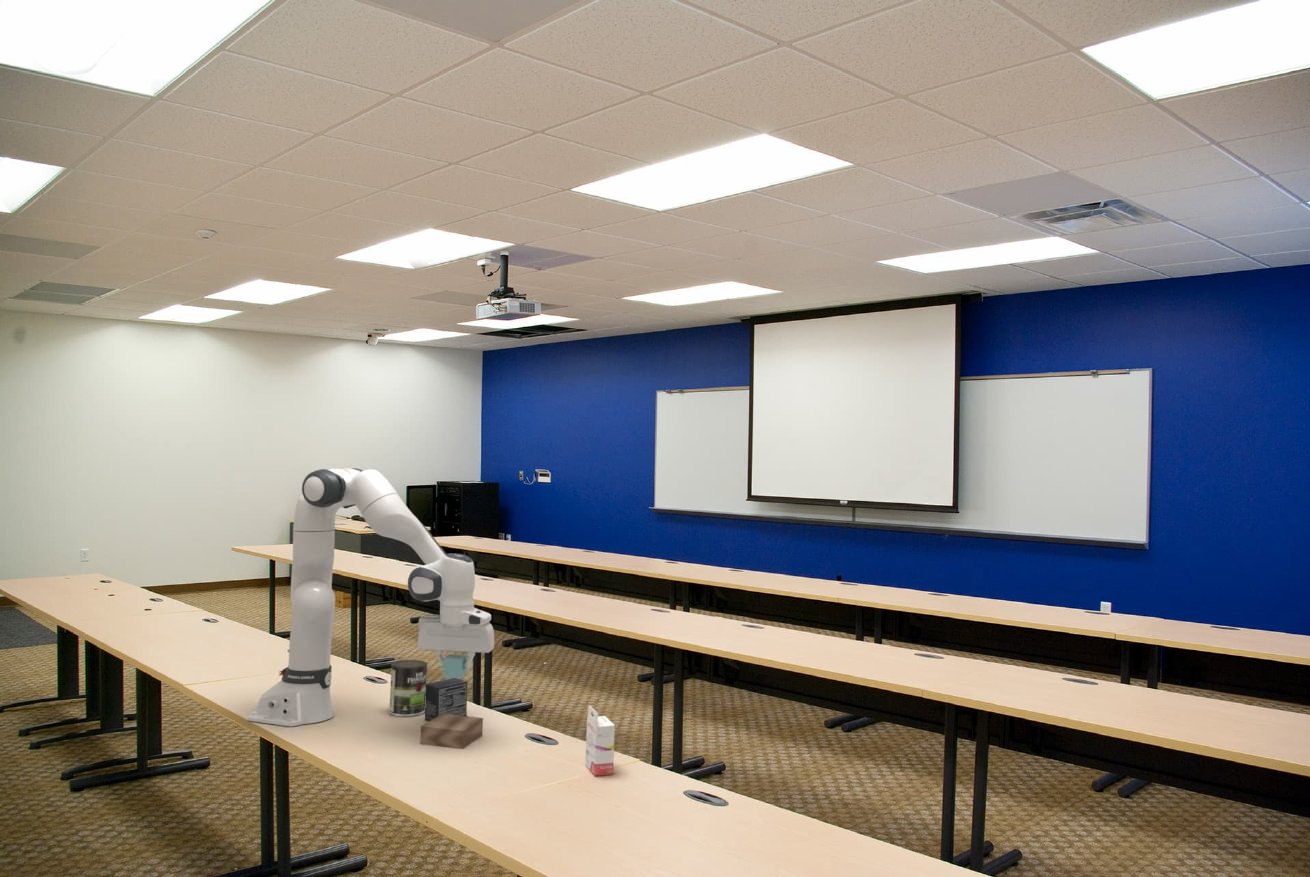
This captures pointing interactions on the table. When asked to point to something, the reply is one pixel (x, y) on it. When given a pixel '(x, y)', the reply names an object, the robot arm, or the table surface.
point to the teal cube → (454, 666)
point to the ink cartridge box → (599, 744)
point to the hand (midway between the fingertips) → (455, 667)
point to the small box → (446, 698)
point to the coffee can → (408, 688)
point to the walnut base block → (451, 731)
